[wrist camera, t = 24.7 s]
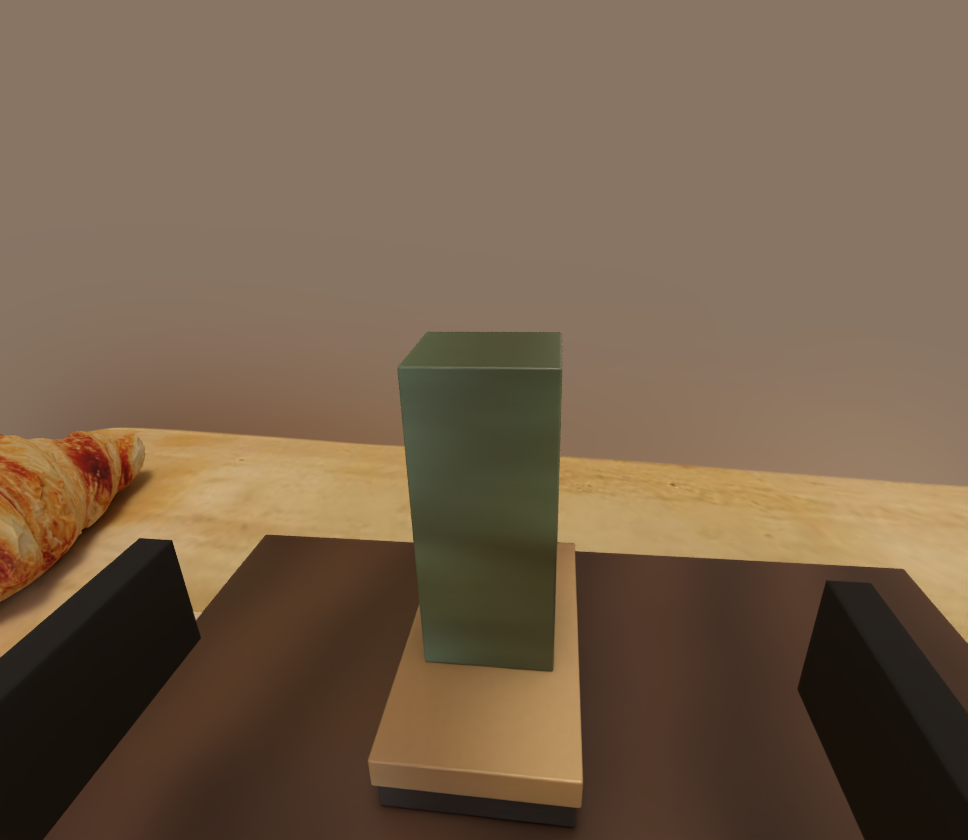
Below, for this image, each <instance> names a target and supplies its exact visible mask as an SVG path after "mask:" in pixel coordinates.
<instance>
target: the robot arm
mask: <svg viewBox="0 0 968 840" xmlns="http://www.w3.org/2000/svg"><path fill="white" fill-rule="evenodd" d="M200 639H201V636H200V632H199V629H198V626H197V622H196V619H195V616H194V612H193V609H192V606H191V602H190V599H189V595H188V592H187V589H186V585H185V582H184V579H183V575H182V572H181V569H180V565H179V562H178V559H177V555H176V552H175V549H174V545H173V542H172V540H159V539H143V538H139V539H138V540H137V541H136V542H135V543H134V544H132V545H131V546H130V547H129V548H128V549H127V550H125V551H124V552H123V553H122V554H121V555H120V556H118V557H117V558H116V559H115V560H114V561H113V562H111V563H110V564H109V565H108V566H107V567H106V568H104V569H103V570H102V571H101V572H100V573H99V574H97V575H96V576H95V577H94V578H93V579H92V580H90V581H89V582H88V583H87V584H86V585H85V586H83V587H82V588H81V589H80V590H79V591H78V592H76V593H75V594H74V595H73V596H72V597H71V598H69V599H68V600H67V601H66V602H65V603H64V604H62V605H61V606H60V607H59V608H58V609H57V610H55V611H54V612H53V613H52V614H51V615H50V616H48V617H47V618H46V619H45V620H44V621H43V622H41V623H40V624H39V625H38V626H37V627H36V628H34V629H33V630H32V631H31V632H30V633H29V634H27V635H26V636H25V637H24V638H23V639H22V640H20V641H19V642H18V643H17V644H16V645H15V646H13V647H12V648H11V649H10V650H9V651H8V652H6V653H5V654H4V655H3V656H2V657H1V658H0V840H43V839H44V838H45V837H46V835H47V834H48V833H49V832H50V830H51V829H52V828H53V827H54V825H55V824H56V823H57V821H58V820H59V819H60V818H61V816H62V815H63V814H64V812H65V811H66V810H67V809H68V807H69V806H70V805H71V804H72V802H73V801H74V800H75V798H76V797H77V796H78V795H79V793H80V792H81V791H82V790H83V788H84V787H85V786H86V784H87V783H88V782H89V781H90V779H91V778H92V777H93V775H94V774H95V773H96V772H97V770H98V769H99V768H100V767H101V765H102V764H103V763H104V761H105V760H106V759H107V758H108V756H109V755H110V754H111V753H112V751H113V750H114V749H115V747H116V746H117V745H118V744H119V742H120V741H121V740H122V738H123V737H124V736H125V735H126V733H127V732H128V731H129V730H130V728H131V727H132V726H133V724H134V723H135V722H136V721H137V719H138V718H139V717H140V716H141V714H142V713H143V712H144V710H145V709H146V708H147V707H148V705H149V704H150V703H151V702H152V700H153V699H154V698H155V696H156V695H157V694H158V693H159V691H160V690H161V689H162V687H163V686H164V685H165V684H166V682H167V681H168V680H169V679H170V677H171V676H172V675H173V673H174V672H175V671H176V670H177V668H178V667H179V666H180V665H181V663H182V662H183V661H184V659H185V658H186V657H187V656H188V654H189V653H190V652H191V650H192V649H193V648H194V647H195V645H196V644H197V643H198V642H199V640H200ZM797 690H798V692H799V694H800V697H801V699H802V701H803V703H804V706H805V708H806V710H807V712H808V715H809V717H810V719H811V721H812V724H813V726H814V728H815V730H816V733H817V735H818V737H819V739H820V741H821V744H822V746H823V748H824V750H825V753H826V755H827V757H828V759H829V762H830V764H831V766H832V768H833V771H834V773H835V775H836V777H837V780H838V782H839V784H840V786H841V788H842V791H843V793H844V795H845V797H846V800H847V802H848V804H849V806H850V809H851V811H852V813H853V815H854V818H855V820H856V822H857V824H858V827H859V829H860V831H861V833H862V835H863V838H864V840H968V713H967V711H966V710H965V709H964V707H963V706H962V705H961V703H960V702H959V701H958V699H957V698H956V697H955V695H954V694H953V693H952V691H951V690H950V689H949V687H948V686H947V685H946V683H945V682H944V681H943V679H942V678H941V676H940V675H939V674H938V672H937V671H936V670H935V668H934V667H933V666H932V664H931V663H930V662H929V660H928V659H927V658H926V656H925V655H924V654H923V652H922V651H921V650H920V648H919V647H918V645H917V644H916V643H915V641H914V640H913V639H912V637H911V636H910V635H909V633H908V632H907V631H906V629H905V628H904V627H903V625H902V624H901V623H900V621H899V620H898V619H897V617H896V616H895V615H894V613H893V612H892V610H891V609H890V608H889V606H888V605H887V604H886V602H885V601H884V600H883V598H882V597H881V596H880V594H879V593H878V592H877V590H876V589H875V588H874V586H873V585H872V584H871V583H862V582H846V581H830V580H826V583H825V586H824V590H823V594H822V598H821V601H820V605H819V609H818V613H817V616H816V620H815V624H814V628H813V631H812V635H811V639H810V643H809V646H808V650H807V654H806V658H805V661H804V665H803V669H802V673H801V676H800V680H799V684H798V688H797Z"/></svg>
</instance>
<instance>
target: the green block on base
mask: <svg viewBox="0 0 968 840" xmlns="http://www.w3.org/2000/svg"><path fill="white" fill-rule="evenodd" d="M398 380H399V390H400V401H401V412H402V422H403V433H404V444H405V455H406V465H407V476H408V487H409V497H410V508H411V519H412V529H413V540H414V551H415V561H416V572H417V583H418V594H419V606H418V609H417V612H416V615H415V619H414V622H413V625H412V628H411V631H410V634H409V637H408V640H407V643H406V646H405V649H404V652H403V655H402V658H401V661H400V664H399V667H398V670H397V673H396V676H395V679H394V682H393V685H392V688H391V691H390V694H389V697H388V700H387V703H386V706H385V709H384V712H383V715H382V718H381V721H380V725H379V728H378V731H377V734H376V737H375V740H374V743H373V746H372V749H371V752H370V755H369V758H368V766H369V773H370V779H371V784H372V785H374V786H378V789H379V795H380V802H381V804H382V805H385V806H394V807H403V808H411V809H420V810H429V811H438V812H446V813H455V814H464V815H473V816H481V817H490V818H499V819H508V820H516V821H525V822H534V823H543V824H551V825H560V826H569V827H573V826H575V823H576V810H577V808H581V806H582V793H583V764H582V736H581V707H580V679H579V650H578V621H577V593H576V564H575V544H574V543H559V542H557V533H558V498H559V463H560V428H561V394H562V333H560V332H555V333H554V332H547V333H546V332H427V333H426V334H425V335H424V336H423V338H421V340H420V341H419V342H418V343H417V344H416V346H415V347H414V348H413V349H412V350H411V352H410V353H409V354H408V355H407V356H406V357H405V359H404V360H403V361H402V362H401V363H400V364H399V366H398Z"/></svg>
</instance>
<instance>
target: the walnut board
mask: <svg viewBox="0 0 968 840" xmlns="http://www.w3.org/2000/svg"><path fill="white" fill-rule="evenodd" d="M575 564H576V593H577V621H578V650H579V679H580V707H581V736H582V764H583V793H582V806H581V808H577V810H576V823H575V826H573V827H569V826H560V825H551V824H543V823H534V822H525V821H516V820H508V819H499V818H490V817H481V816H473V815H464V814H455V813H446V812H438V811H429V810H420V809H411V808H403V807H394V806H385V805H382V804H381V802H380V795H379V789H378V786H374V785H372V784H371V779H370V773H369V766H368V758H369V755H370V752H371V749H372V746H373V743H374V740H375V737H376V734H377V731H378V728H379V725H380V721H381V718H382V715H383V712H384V709H385V706H386V703H387V700H388V697H389V694H390V691H391V688H392V685H393V682H394V679H395V676H396V673H397V670H398V667H399V664H400V661H401V658H402V655H403V652H404V649H405V646H406V643H407V640H408V637H409V634H410V631H411V628H412V625H413V622H414V619H415V615H416V612H417V609H418V606H419V594H418V583H417V572H416V561H415V551H414V543H412V542H393V541H375V540H356V539H338V538H319V537H300V536H282V535H265V536H264V538H263V539H262V540H261V541H260V543H259V544H258V545H257V546H256V547H255V549H254V550H253V551H252V552H251V554H250V555H249V556H248V557H247V558H246V560H245V561H244V562H243V563H242V565H241V566H240V567H239V568H238V569H237V571H236V572H235V573H234V574H233V576H232V577H231V578H230V579H229V580H228V582H227V583H226V584H225V585H224V587H223V588H222V589H221V590H220V591H219V593H218V594H217V595H216V596H215V597H214V599H213V600H212V601H211V602H210V604H209V605H208V606H207V607H206V608H205V610H204V611H203V612H202V613H201V615H200V616H199V617H198V618H197V619H196V622H197V626H198V629H199V632H200V636H201V639H200V640H199V642H198V643H197V644H196V645H195V647H194V648H193V649H192V650H191V652H190V653H189V654H188V656H187V657H186V658H185V659H184V661H183V662H182V663H181V665H180V666H179V667H178V668H177V670H176V671H175V672H174V673H173V675H172V676H171V677H170V679H169V680H168V681H167V682H166V684H165V685H164V686H163V687H162V689H161V690H160V691H159V693H158V694H157V695H156V696H155V698H154V699H153V700H152V702H151V703H150V704H149V705H148V707H147V708H146V709H145V710H144V712H143V713H142V714H141V716H140V717H139V718H138V719H137V721H136V722H135V723H134V724H133V726H132V727H131V728H130V730H129V731H128V732H127V733H126V735H125V736H124V737H123V738H122V740H121V741H120V742H119V744H118V745H117V746H116V747H115V749H114V750H113V751H112V753H111V754H110V755H109V756H108V758H107V759H106V760H105V761H104V763H103V764H102V765H101V767H100V768H99V769H98V770H97V772H96V773H95V774H94V775H93V777H92V778H91V779H90V781H89V782H88V783H87V784H86V786H85V787H84V788H83V790H82V791H81V792H80V793H79V795H78V796H77V797H76V798H75V800H74V801H73V802H72V804H71V805H70V806H69V807H68V809H67V810H66V811H65V812H64V814H63V815H62V816H61V818H60V819H59V820H58V821H57V823H56V824H55V825H54V827H53V828H52V829H51V830H50V832H49V833H48V834H47V835H46V837H45V838H44V839H43V840H864V838H863V835H862V833H861V831H860V829H859V827H858V824H857V822H856V820H855V818H854V815H853V813H852V811H851V809H850V806H849V804H848V802H847V800H846V797H845V795H844V793H843V791H842V788H841V786H840V784H839V782H838V780H837V777H836V775H835V773H834V771H833V768H832V766H831V764H830V762H829V759H828V757H827V755H826V753H825V750H824V748H823V746H822V744H821V741H820V739H819V737H818V735H817V733H816V730H815V728H814V726H813V724H812V721H811V719H810V717H809V715H808V712H807V710H806V708H805V706H804V703H803V701H802V699H801V697H800V694H799V692H798V690H797V688H798V684H799V680H800V676H801V673H802V669H803V665H804V661H805V658H806V654H807V650H808V646H809V643H810V639H811V635H812V631H813V628H814V624H815V620H816V616H817V613H818V609H819V605H820V601H821V598H822V594H823V590H824V586H825V583H826V580H830V581H846V582H862V583H871V584H872V585H873V586H874V588H875V589H876V590H877V592H878V593H879V594H880V596H881V597H882V598H883V600H884V601H885V602H886V604H887V605H888V606H889V608H890V609H891V610H892V612H893V613H894V615H895V616H896V617H897V619H898V620H899V621H900V623H901V624H902V625H903V627H904V628H905V629H906V631H907V632H908V633H909V635H910V636H911V637H912V639H913V640H914V641H915V643H916V644H917V645H918V647H919V648H920V650H921V651H922V652H923V654H924V655H925V656H926V658H927V659H928V660H929V662H930V663H931V664H932V666H933V667H934V668H935V670H936V671H937V672H938V674H939V675H940V676H941V678H942V679H943V681H944V682H945V683H946V685H947V686H948V687H949V689H950V690H951V691H952V693H953V694H954V695H955V697H956V698H957V699H958V701H959V702H960V703H961V705H962V706H963V707H964V709H965V710H966V711H967V713H968V644H967V642H966V641H965V640H964V639H963V638H962V637H961V635H960V634H959V633H958V632H957V631H956V630H955V628H954V627H953V626H952V625H951V624H950V623H949V621H948V620H947V619H946V618H945V617H944V616H943V614H942V613H941V612H940V611H939V610H938V609H937V608H936V606H935V605H934V604H933V603H932V602H931V601H930V599H929V598H928V597H927V596H926V595H925V594H924V592H923V591H922V590H921V589H920V588H919V587H918V585H917V584H916V583H915V582H914V581H913V580H912V578H911V577H910V576H909V575H908V574H907V573H906V571H905V570H903V569H894V568H876V567H857V566H838V565H820V564H801V563H783V562H764V561H746V560H727V559H709V558H690V557H671V556H653V555H634V554H616V553H597V552H579V551H575Z"/></svg>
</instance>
